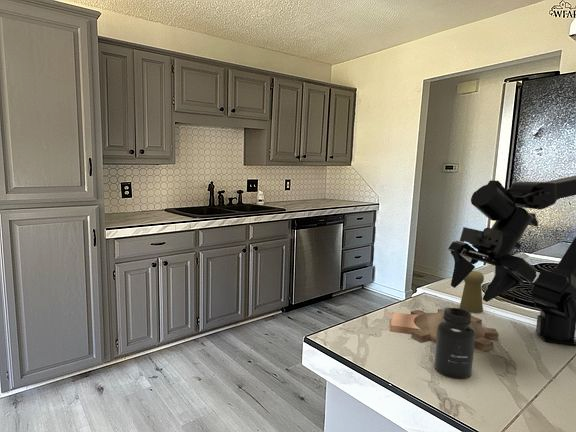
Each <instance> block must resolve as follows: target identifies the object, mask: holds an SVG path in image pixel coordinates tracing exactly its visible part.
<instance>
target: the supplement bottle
mask: <svg viewBox="0 0 576 432" xmlns="http://www.w3.org/2000/svg"><path fill="white" fill-rule="evenodd" d="M471 316H472V313H470V312H468V311H466V310H463V309H460V307H449V308H446V309H445V310H444V316H443V319H444V321H442V322H440V323H439V324H438V327H437V337H436V342H435V349H434V351H435V352H434V367H435V368H436V370H437V371H438V372H439V373H441V374H443V375H445V376H447V377H450V378H454V379H467V378H468V377H470V376H471V374H472V370H473V363H474V352H475V347H474V344H475V331H474V329H473V328H472V327H471V326H470V324H471Z"/></svg>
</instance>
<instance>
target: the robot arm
mask: <svg viewBox="0 0 576 432" xmlns="http://www.w3.org/2000/svg"><path fill="white" fill-rule="evenodd" d="M573 196H576V175H572V176H568V177H567V176H566V177H563V178H558V179H553V180H547V181H520V180H519V181H516V182H514V183H512V184H511V187H509V188H505V187H504V186H503V184H502V183H501V182H500V180H489V181H488V182H487V184H484V185H482V186H481V187H479V188H478V189H477V190H476V191H474V192H473V193H472V196H471V198H470V202H471V205H472V206H474V208H475V209H477V210H478V211H479V212H480V213H482V215H484V216H485V217H486V218H488V220H490V221H494V223H493V224H492V226H491V227H485V228H484V229H483V230H480V229H479V230H478V229H475V228H471V227H466V226H465V227H463V228H462V230H461V234H460V238H459V240H455V241H452V242H451V244H450V245H449V247H448V251H449V252H450V255H451V256H452V257H453V259H454V265H453V272H452V277H451V282H450V286H451V287H452V288H454V289H455V288H457V287H458V286H459V285H460V284H461V283H462V282H464V279H465V278H466V277H467V275H468V274H469V273H470V272H471V271H474V269H475V268H476V266H475V264H477V263H478V262H481V263H485V264H488V265H491V266H495V269H494V277H493V278H492V280H491V281H490V284H489V285H488V287H487V289H486V290H485V292H484V293H483V294H484V295H482V301H484V302H487V303H488V302H489V301H492V300H493V299H495V298H497V297H498V296H500V295H502V294H503V293H505V292H507V291H509V290H511V289H513V288H515V287H518V286H525V284H526V283H529V284H532V288H531V291H530V292H531V297H532V301H533V306H534V308H535V309H539V310H540V312H539V314H537V316H536V328H535V332H536V333H537V335H539V337H540V338H542V341H544V342H546V343H555V344H563V345H568V346H569V345H572V346H576V340H575V336H576V236H575V237H574V238H573V240H572V241H571V243H570V244H569V246H568V247H567V249H566V251H565V253H564V255H563V256H562V257H561V258H560V259H561V260H559V262H558V264H557V265H556V266H555V268H553V269H552V270H546V269H543V270H541V271H540V272H539V274H538V276H537V269H536V268H535V267H534V266H532V265H531V264H530V263H528V262H527V261H526V260H525V259H524V258H523V257H519V256H516V255H512V254H511V253H512V252H513V250H515V249H517V250H520V248H521V246H522V245H521V244H520V243H519V241H520V240H521V237H522V236H523V235H524V233H525V232H526V230H527V228H528V227H530V226H531V227H538V226H539V222H538V219H537V217H536V216H537V215H536V213H533V212H532V213H531V212H529V211H527V209H531V210H544V209H547V208H548V207H550V206H554V205H555V204H556V203H557V201H558V200H560V199H564V198H568V197H573ZM535 279H536V280H535Z"/></svg>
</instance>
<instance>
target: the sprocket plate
mask: <svg viewBox="0 0 576 432" xmlns="http://www.w3.org/2000/svg"><path fill="white" fill-rule="evenodd" d="M446 308H450V307H448V306H446V307H445V306H444V307H442V309H441V308H438V309H437V312H425V311H423V310H421V309H416V310H411V311H410V313H406V312H396V311H392V312H391V315H390V316H391V317H390V325H389V326H390V328H389V332H395V333H403V334H411V339H413V340H416V341H417V342H420V343H424V342H425V343H426V342H427V341H432V342H435V343H436V337H437V327H438V324H439V323H440V322H442V321H444V319H443V316H444V310H445V309H446ZM482 321H483V320H482V319H481V318H478V317H476V316H473V315H471V324H470V326H471V327H472V328H473V329H474V331H475V344H474V348H476V349H478V350H481V351H483V352H487V351H490V350H492V349H494V341H492V340H496V341H498V340H499V335H500V334H499V332H498V330H497V329H496V328H493V327H492V328H491V327H483V326H482Z"/></svg>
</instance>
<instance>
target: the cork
mask: <svg viewBox="0 0 576 432" xmlns="http://www.w3.org/2000/svg"><path fill="white" fill-rule="evenodd" d="M484 281H485V279H484V275H483V273H482V272H480V271H477V270H472V271H471V272H470V273H469V274H468V275H467V277H466V278H465V279H464V280H463V282H464V286H463V290H462V296H461V300H460V304H459V309H463V310H466V311H468V312H470V313H471V314H481V313H483V312H484V308H483V293H482V292H483V291H482V284H483V283H484Z"/></svg>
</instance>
